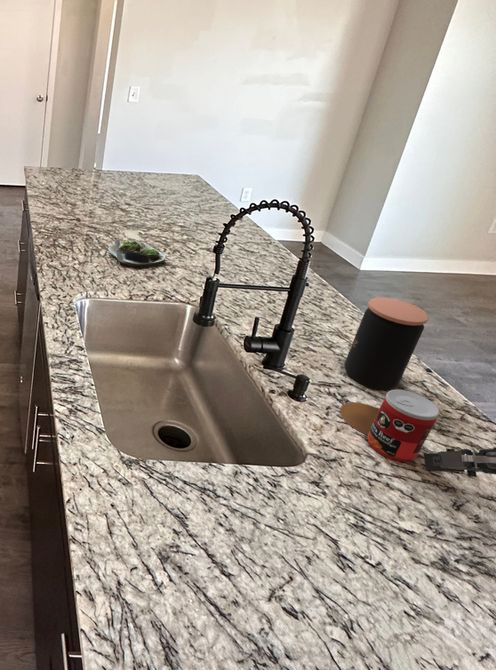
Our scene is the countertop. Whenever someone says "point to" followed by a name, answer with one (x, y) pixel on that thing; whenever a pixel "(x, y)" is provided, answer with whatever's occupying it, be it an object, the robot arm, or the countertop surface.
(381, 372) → the coffee jar
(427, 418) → the canned food
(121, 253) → the salad plate
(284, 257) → the countertop surface
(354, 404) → the cork coaster
